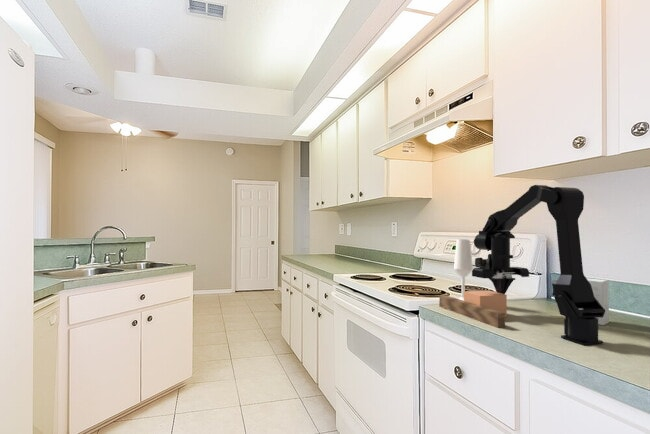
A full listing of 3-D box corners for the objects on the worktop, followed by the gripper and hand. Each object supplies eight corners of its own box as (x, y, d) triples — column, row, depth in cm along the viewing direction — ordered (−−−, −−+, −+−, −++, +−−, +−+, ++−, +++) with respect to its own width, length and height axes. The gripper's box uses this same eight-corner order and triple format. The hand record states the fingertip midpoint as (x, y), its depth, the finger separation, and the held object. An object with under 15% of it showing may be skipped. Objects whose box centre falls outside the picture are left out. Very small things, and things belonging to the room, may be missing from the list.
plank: (504, 327, 102) (504, 313, 103) (498, 327, 102) (498, 313, 102) (445, 306, 129) (445, 295, 129) (439, 306, 129) (439, 295, 129)
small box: (609, 322, 110) (609, 279, 110) (603, 325, 106) (603, 281, 106) (578, 317, 116) (578, 276, 116) (571, 320, 112) (571, 278, 112)
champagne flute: (474, 304, 132) (474, 240, 133) (454, 303, 134) (455, 239, 134) (470, 301, 139) (471, 239, 139) (452, 300, 140) (452, 239, 141)
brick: (506, 316, 115) (506, 294, 115) (479, 318, 112) (479, 295, 112) (489, 311, 123) (489, 290, 123) (463, 312, 120) (464, 291, 120)
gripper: (504, 249, 130) (504, 292, 130) (461, 250, 125) (461, 295, 124) (530, 251, 119) (530, 298, 119) (483, 252, 114) (483, 301, 114)
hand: (500, 298), depth 119 cm, fingers closed
